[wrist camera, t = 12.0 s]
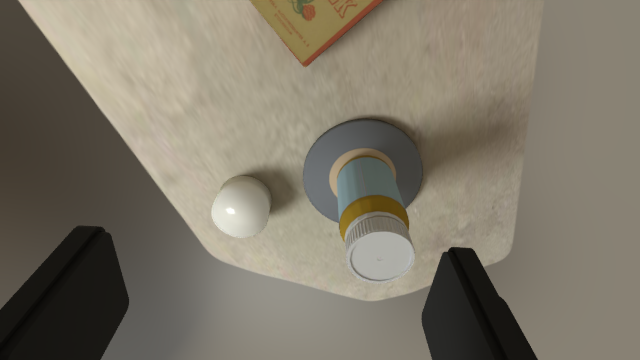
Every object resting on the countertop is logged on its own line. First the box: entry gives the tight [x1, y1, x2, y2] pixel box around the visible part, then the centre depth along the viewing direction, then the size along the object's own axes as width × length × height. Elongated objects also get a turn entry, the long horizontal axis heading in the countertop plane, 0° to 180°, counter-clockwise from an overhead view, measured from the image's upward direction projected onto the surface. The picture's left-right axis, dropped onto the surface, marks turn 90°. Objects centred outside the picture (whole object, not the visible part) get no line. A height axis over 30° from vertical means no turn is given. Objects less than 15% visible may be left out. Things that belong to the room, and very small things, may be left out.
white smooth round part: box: [211, 176, 272, 238], centre depth 47 cm, size 7×7×4 cm
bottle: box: [337, 155, 415, 283], centre depth 39 cm, size 7×7×15 cm
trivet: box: [303, 119, 422, 223], centre depth 46 cm, size 15×15×1 cm
